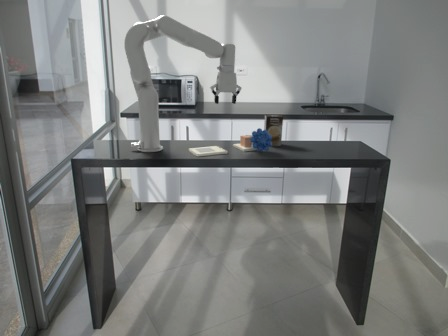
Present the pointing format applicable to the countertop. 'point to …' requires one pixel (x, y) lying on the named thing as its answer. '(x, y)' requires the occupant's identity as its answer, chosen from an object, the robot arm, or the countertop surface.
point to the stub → (245, 144)
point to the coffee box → (274, 128)
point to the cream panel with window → (208, 151)
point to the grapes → (261, 140)
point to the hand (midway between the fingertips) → (225, 103)
